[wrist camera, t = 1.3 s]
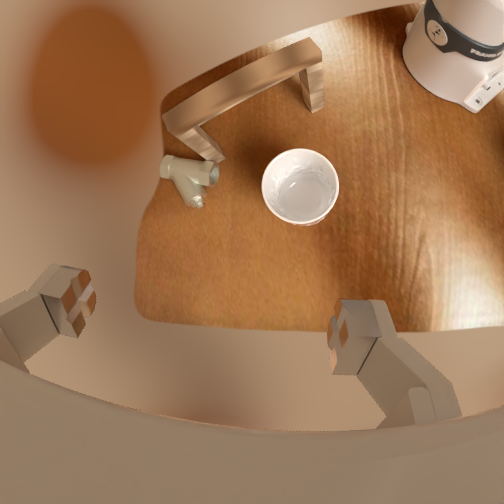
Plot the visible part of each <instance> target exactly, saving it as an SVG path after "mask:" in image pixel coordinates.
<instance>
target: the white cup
mask: <svg viewBox="0 0 504 504" xmlns="http://www.w3.org/2000/svg"><path fill="white" fill-rule="evenodd" d="M338 190H339V182H338V177H337V174H336V171H335V169H334V167H333V166H332V164H331V163H330V162H329V161H328V160H327V159H326V158H325V157H324V156H322V155H321V154H319V153H317V152H315V151H312V150H309V149H301V148H300V149H291V150H288V151H285V152H283V153H281V154H279V155H278V156H276V157H275V158H274V159H273V160H272V161H271V162H270V163H269V165H268V166H267V168H266V170H265V172H264V174H263V178H262V194H263V198H264V200H265V203H266V205H267V206H268V208H269V209H270V210H271V211H272V212H273V213H274V214H275V215H276V216H277V217H279V218H280V219H282V220H284V221H287V222H289V223H292V224H295V225H300V226H308V225H313V224H316V223H318V222H319V221H321V220H322V219H324V218H325V217H326V216H327V214H328V213H329V212H330V210H331V208H332V207H333V205H334V203H335V201H336V199H337V196H338Z"/></svg>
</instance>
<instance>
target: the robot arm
mask: <svg viewBox="0 0 504 504" xmlns="http://www.w3.org/2000/svg"><path fill="white" fill-rule="evenodd" d="M425 3H426V4H423V5H422V6H421V7H420V9H419V11H418V13H417V15H416V17H415V19H414V22H411V23H408V24H407V26H406V35H407V39H406V41H405V43H404V46H403V58H404V61H405V64H406V66H407V68H408V70H409V71H410V73H411V74H412V75H413V77H414V78H415V79H416V80H417V81H418V82H419V83H420V84H421V85H422V86H423V87H424V88H426V89H427V90H428V91H430V92H431V93H433V94H435V95H436V96H438V97H441V98H443V99H445V100H448V101H452V102H456V103H458V104H460V105H462V106H463V107H465V108H466V109H467V110H469V111H471V112H473V113H477V112H479V111H480V110H481V109H482V108H483V107H484V106H485V105H486V104H487V103H489V102H490V101H491V100H492V99H493V98H494V97H495V96H496V95H497V94H498V93H499V92H500V91H502V90H503V89H504V0H426V1H425ZM476 101H477V102H478V103H477V102H476ZM90 281H91V278H90V275H89V273H88V271H86V270H85V269H79V268H74V267H69V266H62V265H57V264H52V265H50V266H49V267H48V268H47V269H46V270H45V271H44V272H43V273H42V275H41V276H40V277H39V278H38V279H37V281H35V283H34V284H33V285H32V286H31V288H30V289H29V290H28V291H23V292H21V293H19V294H17V295H15V296H13V297H12V298H9V299H8V300H6V301H4V302H2V303H0V504H504V405H503V406H500V407H496V408H493V409H489V410H485V411H481V412H477V413H473V414H469V415H465V416H462V414H461V410H460V407H459V403H458V400H457V397H456V394H455V391H454V388H453V385H452V383H451V382H450V381H449V380H448V379H447V378H446V377H445V376H444V375H443V374H442V373H440V372H439V371H438V370H437V369H436V368H435V367H434V366H433V365H432V364H431V363H430V362H428V361H427V360H426V359H425V358H424V357H423V356H422V355H421V354H420V353H418V352H417V351H416V350H415V349H414V348H413V347H412V346H411V345H410V344H408V343H407V342H406V341H405V340H404V339H403V338H398V337H397V333H396V330H395V327H394V325H393V322H392V319H391V316H390V313H389V311H388V308H387V305H386V303H385V301H383V300H361V299H345V298H338V299H337V301H336V304H335V306H334V310H335V315H334V316H333V317H331V319H330V322H329V325H328V332H327V342H328V347H329V348H330V349H331V350H332V352H331V355H330V357H329V359H330V367H331V374H332V375H357V378H358V379H359V380H360V382H361V383H362V384H363V386H364V387H365V388H366V390H367V391H368V392H369V394H370V395H371V396H372V398H373V399H374V400H375V401H376V403H377V404H378V405H379V407H380V408H381V409H382V411H383V412H384V413H385V415H386V416H387V417H386V418H385V419H384V420H383V421H382V422H381V424H379V426H378V427H377V428H376V429H369V430H354V431H353V430H352V431H282V430H281V431H280V430H265V429H252V428H242V427H232V426H224V425H216V424H209V423H202V422H196V421H189V420H184V419H179V418H174V417H169V416H164V415H159V414H154V413H150V412H146V411H141V410H137V409H133V408H129V407H125V406H122V405H118V404H114V403H111V402H107V401H104V400H101V399H98V398H94V397H91V396H88V395H85V394H82V393H79V392H76V391H73V390H70V389H68V388H65V387H62V386H60V385H57V384H54V383H52V382H49V381H46V380H44V379H41V378H39V377H37V376H34V375H32V374H30V372H29V370H28V369H27V367H26V366H25V364H24V362H25V361H26V360H28V359H29V358H30V357H32V356H33V355H34V354H35V353H37V352H38V351H39V350H40V349H42V348H43V347H44V346H45V345H47V344H48V343H49V342H51V341H52V340H53V339H54V338H56V337H57V336H58V335H59V334H62V335H66V336H70V337H74V338H78V337H79V335H80V334H81V332H82V330H83V329H84V327H85V325H86V323H85V319H86V318H88V317H90V316H91V315H92V313H93V311H94V310H95V305H96V294H95V291H94V289H93V288H92V287H91V286H90V285H89V283H90Z"/></svg>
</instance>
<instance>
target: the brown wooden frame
mask: <svg viewBox="0 0 504 504" xmlns="http://www.w3.org/2000/svg"><path fill="white" fill-rule="evenodd" d="M297 74H299V77H300V82H301V88H302V94H303V99H304V102H305V103H306V105H307V106H308V108H309V109H310V111H311V112H312V113H314V112H316V111H318V110H320V109H322V108H324V89H323V67H322V51H321V50H320V49H319V47H318V46H317V45H316V44H315V43H314V42H313V41H312V39H311V38H310V37H308V38H306V39H303V40H301V41H298V42H296V43H294V44H291V45H289V46H287V47H284V48H282V49H280V50H278V51H275V52H273V53H271V54H269V55H267V56H265V57H263V58H260V59H258V60H256V61H254V62H252V63H250V64H248V65H246V66H244V67H242V68H240V69H239V70H237V71H235V72H233V73H231V74H229V75H227V76H225V77H224V78H222V79H220V80H218V81H216V82H215V83H213V84H211V85H209V86H208V87H206V88H204V89H203V90H201V91H199V92H198V93H196V94H194V95H193V96H191V97H189V98H188V99H186V100H185V101H183V102H181V103H180V104H178V105H177V106H175V107H174V108H172V109H170V110H169V111H167V112H166V113H164V114H163V115H161V116H162V118H163V121H164V123H165V125H166V128H167V130H168V132H169V133H171V134H172V135H173V136H175V137H176V138H178V139H179V140H180V141H182V142H183V143H184V144H186V145H187V146H189V147H190V148H191V149H193V150H194V151H195V152H197V153H198V154H199V155H201V156H202V157H203V158H205V159H206V160H207V161H212V162H215V163H219V162H220V161H222V160H224V159H226V158H225V156H224V154H223V152H222V150H221V148H220V146H219V145H218V144H217V143H216V142H215V141H214V140H213V139H212V138H211V137H210V136H209V135H208V134H207V133H206V132H205V131H204V130H203V129H202V128H200V127H199V126H200V125H202V124H204V123H205V122H207V121H209V120H210V119H212V118H214V117H216V116H217V115H219V114H221V113H223V112H224V111H226V110H228V109H230V108H231V107H233V106H235V105H237V104H239V103H241V102H242V101H244V100H246V99H248V98H250V97H252V96H254V95H256V94H258V93H260V92H262V91H264V90H266V89H268V88H270V87H272V86H274V85H276V84H278V83H280V82H282V81H284V80H286V79H288V78H290V77H293V76H295V75H297Z"/></svg>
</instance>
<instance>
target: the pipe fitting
mask: <svg viewBox="0 0 504 504" xmlns="http://www.w3.org/2000/svg"><path fill="white" fill-rule="evenodd" d="M219 172H220V168H219V164H218V163H215V162H212V161H206V160H205V161H198V160H192V159H185V158H178V157H176V156H172V155H166V156H165V157H164V158H163V159H162V161H161V164H160V176H161V177H162V178H166V179H171V180H173V182H174V183H175V185H176V187H177V189H178V191H179V193H180V194H181V196H182V198H183V200H184V202H185V204H186V205H187V206H188V207H190V206H193V207H194V208H198V209H201V208H203V207H204V203H205V198H206V197H207V193H206V191H205V189H204V188H203V186H208V187H214V186H215V185H216V183H217V181H218V178H219ZM202 185H203V186H202Z"/></svg>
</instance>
